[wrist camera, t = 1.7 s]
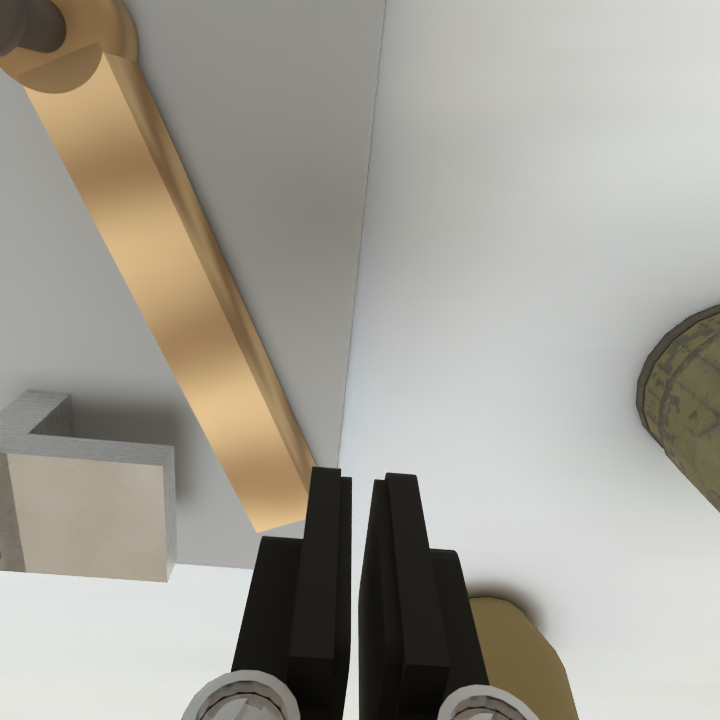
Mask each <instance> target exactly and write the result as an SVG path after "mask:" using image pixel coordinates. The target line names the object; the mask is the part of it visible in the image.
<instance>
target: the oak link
mask: <svg viewBox="0 0 720 720" xmlns="http://www.w3.org/2000/svg"><path fill="white" fill-rule="evenodd" d="M137 55H138V40H137V34H136V30H135V26H134V23H133V21H132V18H131V16H130V14H129V12H128V10H127V9H126V7H125V5H124V4H123V2H122V1H121V0H0V67H1V68H2V70H3V71H4V72H5V73H7V74H8V75H9V76H10V77H11V78H12V79H14V80H15V81H17V82H18V83H20V84H22V85H23V87H24V89H25V91H26V93H27V95H28V96H29V98H30V100H31V102H32V104H33V106H34V108H35V110H36V112H37V114H38V116H39V117H40V119H41V121H42V123H43V125H44V127H45V129H46V131H47V133H48V135H49V137H50V139H51V140H52V142H53V144H54V146H55V148H56V150H57V152H58V154H59V156H60V158H61V160H62V161H63V163H64V165H65V167H66V169H67V171H68V173H69V175H70V177H71V179H72V181H73V183H74V184H75V186H76V188H77V190H78V192H79V194H80V196H81V198H82V200H83V202H84V204H85V205H86V207H87V209H88V211H89V213H90V215H91V217H92V219H93V221H94V223H95V225H96V227H97V228H98V230H99V232H100V234H101V236H102V238H103V240H104V242H105V244H106V246H107V248H108V249H109V251H110V253H111V255H112V257H113V259H114V261H115V263H116V265H117V267H118V269H119V271H120V272H121V274H122V276H123V278H124V280H125V282H126V284H127V286H128V288H129V290H130V292H131V293H132V295H133V297H134V299H135V301H136V303H137V305H138V307H139V309H140V311H141V313H142V315H143V316H144V318H145V320H146V322H147V324H148V326H149V328H150V330H151V332H152V334H153V336H154V337H155V339H156V341H157V343H158V345H159V347H160V349H161V351H162V353H163V355H164V357H165V359H166V360H167V362H168V364H169V366H170V368H171V370H172V372H173V374H174V376H175V378H176V380H177V381H178V383H179V385H180V387H181V389H182V391H183V393H184V395H185V397H186V399H187V401H188V403H189V404H190V406H191V408H192V410H193V412H194V414H195V416H196V418H197V420H198V422H199V424H200V425H201V427H202V429H203V431H204V433H205V435H206V437H207V439H208V441H209V443H210V445H211V447H212V448H213V450H214V452H215V454H216V456H217V458H218V460H219V462H220V464H221V466H222V468H223V469H224V471H225V473H226V475H227V477H228V479H229V481H230V483H231V485H232V487H233V489H234V491H235V492H236V494H237V496H238V498H239V500H240V502H241V504H242V506H243V508H244V510H245V512H246V513H247V515H248V517H249V519H250V521H251V523H252V525H253V527H254V529H255V531H256V533H259V532H263V531H266V530H270V529H273V528H277V527H280V526H283V525H287V524H290V523H294V522H297V521H301V520H304V519H306V512H307V504H308V496H309V488H310V480H311V472H312V466H315V467H316V465H315V462H314V460H313V458H312V456H311V453H310V451H309V449H308V447H307V444H306V442H305V440H304V438H303V435H302V433H301V431H300V429H299V426H298V424H297V422H296V420H295V417H294V415H293V413H292V411H291V408H290V406H289V404H288V402H287V399H286V397H285V395H284V393H283V390H282V388H281V386H280V384H279V381H278V379H277V377H276V375H275V372H274V370H273V368H272V366H271V363H270V361H269V359H268V357H267V354H266V352H265V350H264V348H263V345H262V343H261V341H260V339H259V336H258V334H257V332H256V330H255V327H254V325H253V323H252V321H251V318H250V316H249V314H248V312H247V309H246V307H245V305H244V303H243V300H242V298H241V296H240V294H239V291H238V289H237V287H236V285H235V282H234V280H233V278H232V276H231V273H230V271H229V269H228V267H227V264H226V262H225V260H224V258H223V255H222V253H221V251H220V249H219V246H218V244H217V242H216V240H215V237H214V235H213V233H212V231H211V228H210V226H209V224H208V222H207V219H206V217H205V215H204V213H203V210H202V208H201V206H200V204H199V201H198V199H197V197H196V195H195V192H194V190H193V188H192V186H191V183H190V181H189V179H188V177H187V174H186V172H185V170H184V168H183V165H182V163H181V161H180V159H179V156H178V154H177V152H176V150H175V147H174V145H173V143H172V141H171V138H170V136H169V134H168V132H167V129H166V127H165V125H164V123H163V120H162V118H161V116H160V114H159V111H158V109H157V107H156V105H155V102H154V100H153V98H152V96H151V93H150V91H149V89H148V87H147V84H146V82H145V80H144V78H143V75H142V73H141V71H140V69H139V66H138V64H137V62H136V61H137Z"/></svg>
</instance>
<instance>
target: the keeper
mask: <svg viewBox="0 0 720 720" xmlns="http://www.w3.org/2000/svg"><path fill="white" fill-rule="evenodd" d="M176 560H177V525H176V490H175V456H174V446H169V445H157V444H145V443H133V442H121V441H109V440H97V439H85V438H76V436H75V427H74V418H73V408H72V399H71V393H64V392H52V391H41V390H29V389H28V390H26V391H25V392H24V393H23V394H22V395H20V396H19V397H18V398H17V399H15V400H14V401H13V402H12V403H10V404H9V405H8V406H7V407H5V408H4V409H3V410H2V411H0V571H14V572H28V573H42V574H56V575H70V576H84V577H98V578H112V579H126V580H140V581H154V582H168V580H169V577H170V575H171V572H172V570H173V567H174V565H175V563H176Z"/></svg>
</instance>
